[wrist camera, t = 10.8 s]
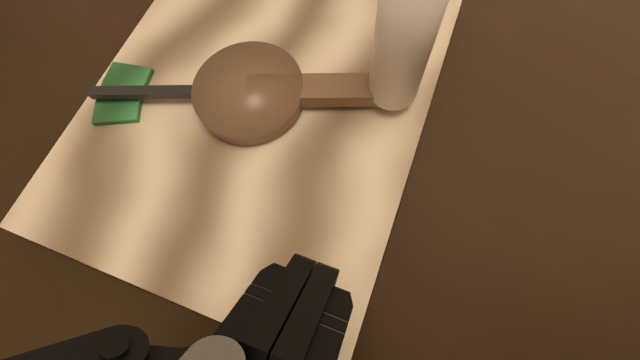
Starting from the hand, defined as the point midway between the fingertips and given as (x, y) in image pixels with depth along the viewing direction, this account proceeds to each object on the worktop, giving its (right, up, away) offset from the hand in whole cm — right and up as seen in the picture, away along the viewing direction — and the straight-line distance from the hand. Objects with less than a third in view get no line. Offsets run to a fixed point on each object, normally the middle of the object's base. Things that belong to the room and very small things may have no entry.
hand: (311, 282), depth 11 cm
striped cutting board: (-4, +8, +13) cm, 16 cm away
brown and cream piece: (-4, +9, +12) cm, 15 cm away
